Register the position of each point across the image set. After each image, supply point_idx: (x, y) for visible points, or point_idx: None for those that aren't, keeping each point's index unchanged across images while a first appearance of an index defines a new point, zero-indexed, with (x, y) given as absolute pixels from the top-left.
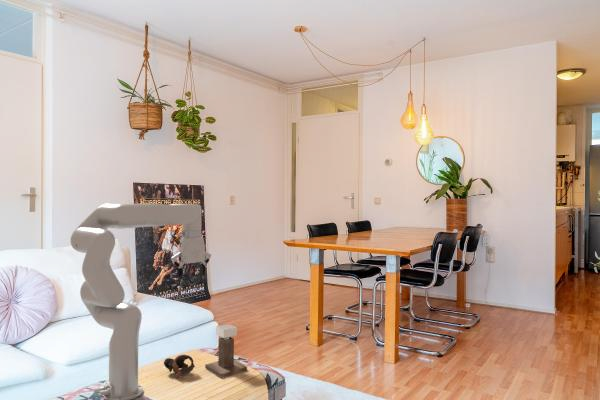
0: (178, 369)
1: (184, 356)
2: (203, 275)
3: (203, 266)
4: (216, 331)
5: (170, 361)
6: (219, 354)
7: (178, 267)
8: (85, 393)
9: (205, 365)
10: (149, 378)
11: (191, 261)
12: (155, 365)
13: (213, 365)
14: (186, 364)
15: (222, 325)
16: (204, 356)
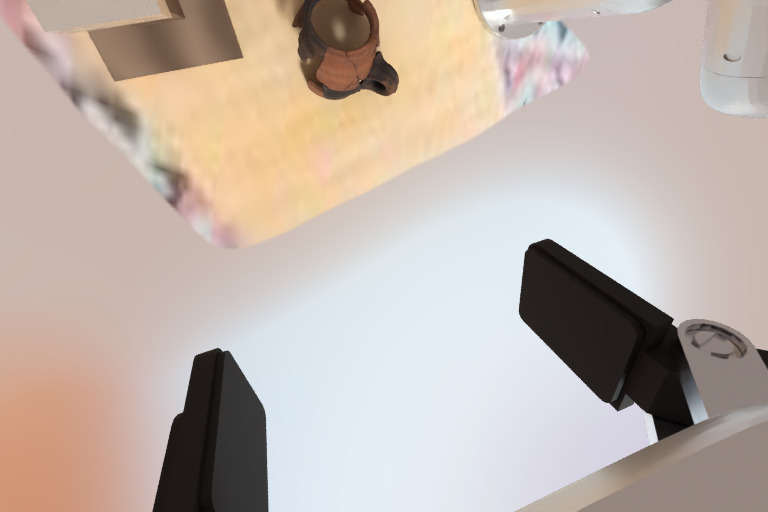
0: (361, 4)
1: (336, 50)
2: (216, 348)
3: (199, 508)
4: (165, 8)
5: (383, 61)
6: (171, 3)
7: (713, 336)
8: (576, 46)
9: (242, 56)
10: (429, 65)
11: (676, 505)
12: (390, 164)
13: (208, 28)
14: (314, 83)
15: (106, 19)
16: (231, 179)
